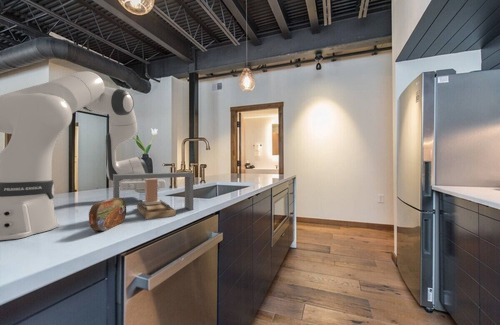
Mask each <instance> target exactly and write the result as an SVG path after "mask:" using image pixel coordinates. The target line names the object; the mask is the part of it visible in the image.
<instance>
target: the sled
mask: <svg viewBox="0 0 500 325" xmlns="http://www.w3.org/2000/svg"><path fill="white" fill-rule="evenodd" d="M144 193H145V194H144V198H145V199H142V201H141V202H142V203H143V204H144V205H153V204H161V201H160V200H161V199H159V198H158V189H157V179H145V192H144Z"/></svg>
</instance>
